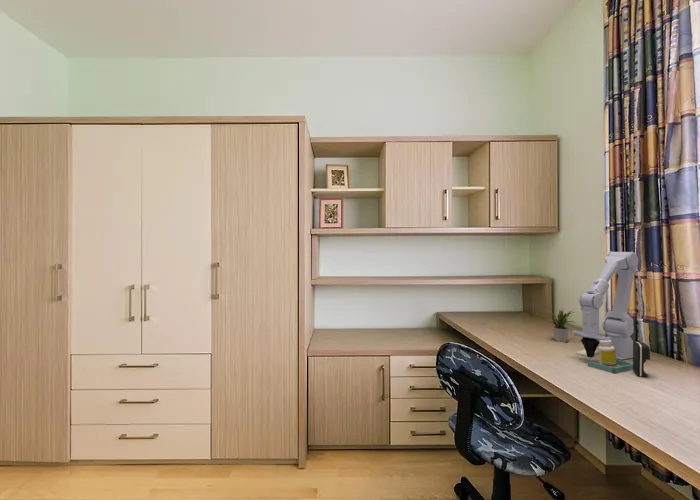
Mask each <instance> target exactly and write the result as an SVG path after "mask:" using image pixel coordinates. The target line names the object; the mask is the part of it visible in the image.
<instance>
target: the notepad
mask: <svg viewBox="0 0 700 500" xmlns="http://www.w3.org/2000/svg"><path fill="white" fill-rule="evenodd" d="M575 355H579V356H585V357H587V354H586V350H585V348H584V349H582V350H579V351H577V352H576V353H575ZM598 355H599V351H597V350H596V351H595V354H594V357H595V356H598Z"/></svg>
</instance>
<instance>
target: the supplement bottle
mask: <svg viewBox="0 0 700 500" xmlns="http://www.w3.org/2000/svg"><path fill="white" fill-rule="evenodd" d="M611 345H612V341H611V340H609V341H605V340H600V341H599V345H598V346H597V350H598V351H597V352H599V354H598V357H599V364H602V365H606V366H609V367H613V368H614V367H618V365H617V361H616V354H615V348H614V347H613V346H611Z"/></svg>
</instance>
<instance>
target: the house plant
mask: <svg viewBox="0 0 700 500" xmlns="http://www.w3.org/2000/svg"><path fill="white" fill-rule="evenodd" d="M557 308H558V314H557V317H556V316H555V314H554V313H553V312H552V311H551V310H549V309H547V311H548V312H549V313H550V314H551V316H552V317H551V319H550V320H548V321H549V322H551V323H553V325H554V326H552V330H553V337H554V340H555V341H557V342H567V341H568V336H569V331H570V328H569V327H567V325H569V324H571V323H574V320H573V321H572V320H569V321H568V319H569V317H573V315H572V314H574V313H576V311H574V312H573V310H571V311H569V312H567V313H564V309H563V308H561V309H560V308H559V307H557ZM566 324H567V325H566ZM565 325H566V326H565Z"/></svg>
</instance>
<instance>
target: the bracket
mask: <svg viewBox="0 0 700 500" xmlns="http://www.w3.org/2000/svg"><path fill="white" fill-rule="evenodd" d="M616 361H617V367H614V368H613V367H609V366H606V365H602V364H600V363H597V362H594V361H591V360H588V361H587V367H591V368H594V369H598V370H601V371H604V372H607V373H612V374H618V373H622V372H627V371H631V370H632V371H633V362H629V361H625V360H620V359H616Z"/></svg>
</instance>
